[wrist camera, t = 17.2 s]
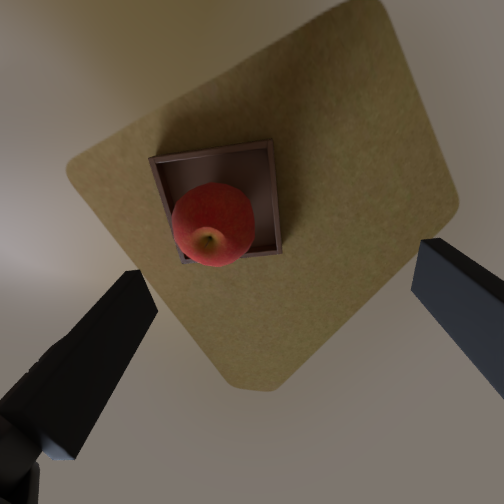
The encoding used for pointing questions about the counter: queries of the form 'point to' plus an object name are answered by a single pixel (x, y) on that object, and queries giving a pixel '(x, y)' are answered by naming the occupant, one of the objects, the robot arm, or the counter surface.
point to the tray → (231, 173)
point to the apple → (214, 224)
